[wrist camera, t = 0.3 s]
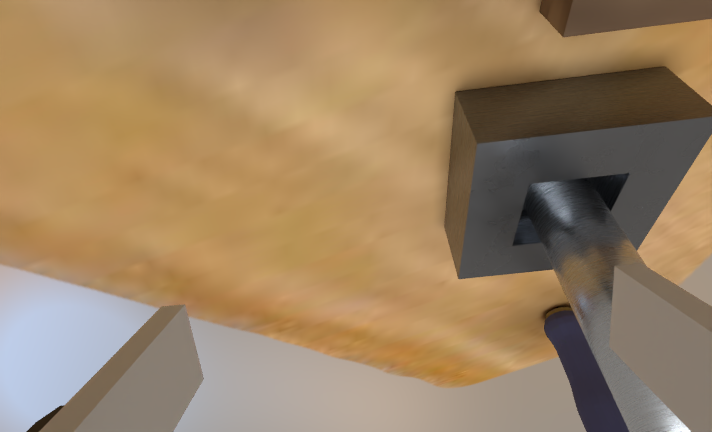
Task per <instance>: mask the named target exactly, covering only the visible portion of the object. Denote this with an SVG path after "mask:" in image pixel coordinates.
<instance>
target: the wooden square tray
mask: <svg viewBox="0 0 712 432" xmlns="http://www.w3.org/2000/svg"><path fill="white" fill-rule="evenodd" d="M540 13H541V14H542V15H543V16H544V17H545V18H546V19H547V20H548V21H549V22H550V24H551V25H552V26H553V27H554V28H555V29H556V30H557V31H558V32H559V33H560V34H561V35H562V37H569V36H577V35H585V34H593V33H601V32H609V31H617V30H625V29H633V28H641V27H649V26H657V25H665V24H673V23H681V22H689V21H697V20H705V19H712V0H542V4H541V9H540Z"/></svg>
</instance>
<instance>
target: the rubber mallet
mask: <svg viewBox="0 0 712 432" xmlns="http://www.w3.org/2000/svg"><path fill="white" fill-rule="evenodd" d="M545 317H546V320H545V325H544V331H545V333H546V335H547V337H548V338H549V340H550V341H551V342H552V344H553V345H554V347H555V349H556V351H557V353H558V355H559V358H560V360H561V362H562V365H563V367H564V370H565V372H566V375H567V377H568V379H569V382H570V385H571V388H572V392H573V396H574V400H575V403H576V407H577V410H578V413H579V415H580V417H581V420H582V422H583V424H584V427H585V429H586V431H587V432H629V430H628V427H627V425H626V423H625V421H624V419H623V417H622V415H621V412H620V410H619V408H618V406H617V404H616V402H615V400H614V398H613V395H612V393H611V391H610V389H609V387H608V385H607V383H606V380H605V378H604V376H603V374H602V372H601V370H600V368H599V365H598V363H597V361H596V359H595V357H594V355H593V353H592V350H591V348H590V346H589V344H588V342H587V340H586V338H585V335H584V333H583V331H582V329H581V327H580V325H579V323H578V320H577V318H576V316H575V314H574V312H573V310H572V308H569V307H560V308H556V309H553V310H551V311H550V312H548V313H547V314H546V315H545Z"/></svg>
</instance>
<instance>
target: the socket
mask: <svg viewBox="0 0 712 432" xmlns="http://www.w3.org/2000/svg"><path fill="white" fill-rule="evenodd" d="M711 134H712V105H711V104H709V103H708V102H707V101H706V100H705V99H703V98H702V97H701V96H700V95H699V94H697V93H696V92H695V91H694V90H693V89H692V88H690V87H689V86H688V85H687V84H686V83H684V82H683V81H682V80H681V79H680V78H678V77H677V76H676V75H675V74H674V73H673V72H671V71H670V70H669V69H668V68H667V67H657V68H649V69H641V70H633V71H624V72H616V73H608V74H600V75H591V76H583V77H575V78H566V79H558V80H550V81H542V82H533V83H525V84H517V85H508V86H500V87H492V88H484V89H475V90H467V91H459V92H455V103H454V115H453V128H452V140H451V152H450V165H449V177H448V190H447V202H446V214H445V231H446V234H447V238H448V242H449V246H450V249H451V253H452V257H453V261H454V264H455V268H456V272H457V276H458V279H465V278H474V277H484V276H494V275H504V274H513V273H523V272H533V271H543V270H552V269H553V267H552V265H551V263H550V261H549V258H548V256H547V254H546V252H545V250H544V248H543V246H542V243H541V241H540V239H539V237H538V235H537V233H536V231H535V228H534V226H533V224H532V222H531V220H530V218H529V216H528V214H527V211H526V209H525V207H524V202H525V198H526V195H527V191H528V187H529V184H535V183H544V182H553V181H562V180H571V179H580V178H589V180H590V181H591V183H592V184H593V186H594V187H595V189H596V190H597V192H598V193H599V195H600V196H601V198H602V199H603V201H604V202H605V204H606V205H607V207H608V209H609V210H610V212H611V213H612V215H613V216H614V218H615V219H616V221H617V222H618V224H619V225H620V227H621V228H622V230H623V231H624V233H625V234H626V236H627V237H628V239H629V240H630V242H631V243H632V245H633V246H634V248H635V249H636V251H637V250H638V248H639V246H640V245H641V243H642V242H643V240H644V239H645V237H646V235H647V234H648V232H649V231H650V229H651V228H652V226H653V225H654V223H655V221H656V220H657V218H658V217H659V215H660V214H661V212H662V211H663V209H664V207H665V206H666V204H667V203H668V201H669V200H670V198H671V196H672V195H673V193H674V192H675V190H676V189H677V187H678V186H679V184H680V182H681V181H682V179H683V178H684V176H685V175H686V173H687V171H688V170H689V168H690V167H691V165H692V164H693V162H694V161H695V159H696V157H697V156H698V154H699V153H700V151H701V150H702V148H703V147H704V145H705V143H706V142H707V140H708V139H709V137H710V136H711Z"/></svg>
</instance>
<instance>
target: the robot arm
mask: <svg viewBox="0 0 712 432" xmlns="http://www.w3.org/2000/svg"><path fill="white" fill-rule="evenodd" d="M609 347H610V348H611V349H612V350H613V351H614V352H615V353H616V354H617V355H618V356H619V357H620V359H621V360H622V361H623V362H624V363H625V364H626V365H627V366H628V367H629V368H630V369H631V370H632V371H633V372H634V373H635V374H636V375H637V376H638V377H639V378H640V379H641V380H642V381H643V382H644V383H645V384H646V385H647V386H648V387H649V388H650V390H651V391H652V392H653V393H654V394H655V395H656V396H657V397H658V398H659V399H660V400H661V401H662V402H663V403H664V404H665V405H666V406H667V407H668V408H669V409H670V410H671V411H672V412H673V413H674V414H675V415H676V416H677V417H678V418H679V419H680V420H681V422H682V423H683V424H684V425H685V426H686V427H687V428H688V429H689V430H690V431H691V432H712V306H710V305H708V304H707V303H705V302H703V301H702V300H700V299H698V298H697V297H695V296H694V295H692V294H690V293H688V292H687V291H685V290H684V289H682V288H680V287H679V286H677V285H675V284H674V283H672V282H671V281H669V280H667V279H666V278H664V277H662V276H661V275H659V274H657V273H656V272H654V271H652V270H651V269H649V268H648V267H646V266H644V265H643V264H632V265H620V266H615V267H614V281H613V296H612V311H611V325H610V340H609ZM203 379H204V378H203V374H202V370H201V366H200V363H199V358H198V354H197V350H196V346H195V342H194V338H193V334H192V330H191V326H190V322H189V318H188V314H187V310H186V306H185V305H174V306H163V307H161V308H160V309H159V310H158V311H157V312H156V313H155V314H154V315H153V316H152V317H151V318H150V319H149V320H148V321H147V322H146V323H145V324H144V325H143V326H142V327H141V328H140V329H139V330H138V331H137V332H136V333H135V334H134V335H133V336H132V337H131V338H130V339H129V341H127V342H126V343H125V344H124V345H123V346H122V348H120V349H119V351H118V352H117V353H116V354H115V355H114V356H113V357H112V358H111V359H110V360H109V361H108V362H107V363H106V364H105V365H104V366H103V367H102V368H101V369H100V370H99V371H98V372H97V373H96V374H95V375H94V376H93V377H92V378H91V379H90V380H89V381H88V382H87V383H86V384H85V385H84V386H83V387H82V388H81V389H80V390H79V391H78V392H77V393H76V394H75V396H74V397H72V398H71V400H70V401H69V402H68V403H67V404H66V405H65V406H59V407H58V408H56V409H55V410H54V411H52V412H51V413H49V414H48V415H46V416H45V417H43V418H42V419H40V420H39V421H37V422H36V423H35V424H34V425H33V426H32V427H31V428H30V429H29V430H28V431H27V432H173V431H174V429H175V427H176V426H177V424H178V422H179V420H180V419H181V417H182V415H183V414H184V412H185V410H186V408H187V407H188V405H189V403H190V401H191V400H192V398H193V396H194V395H195V393H196V391H197V389H198V388H199V386H200V384H201V382H202V381H203Z"/></svg>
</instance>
